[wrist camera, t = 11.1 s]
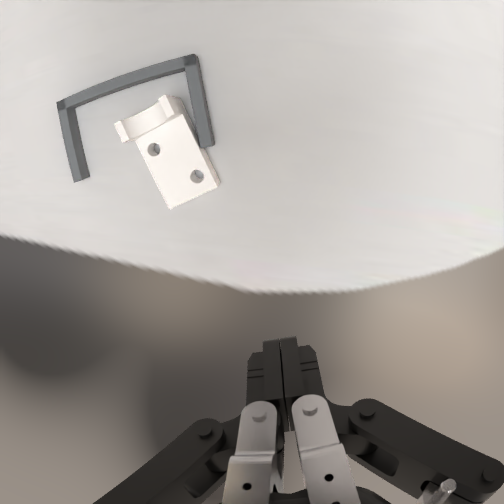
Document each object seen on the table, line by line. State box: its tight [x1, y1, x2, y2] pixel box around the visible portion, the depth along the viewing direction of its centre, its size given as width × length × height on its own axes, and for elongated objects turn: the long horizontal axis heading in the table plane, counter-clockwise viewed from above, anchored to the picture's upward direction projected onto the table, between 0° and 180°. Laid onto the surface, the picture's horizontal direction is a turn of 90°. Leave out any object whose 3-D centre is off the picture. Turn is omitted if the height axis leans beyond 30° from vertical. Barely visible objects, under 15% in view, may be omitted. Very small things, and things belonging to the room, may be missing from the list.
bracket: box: [114, 95, 220, 210], centre depth 38 cm, size 13×7×8 cm, turn 24°
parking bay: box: [57, 54, 215, 183], centre depth 38 cm, size 12×21×2 cm, turn 100°
